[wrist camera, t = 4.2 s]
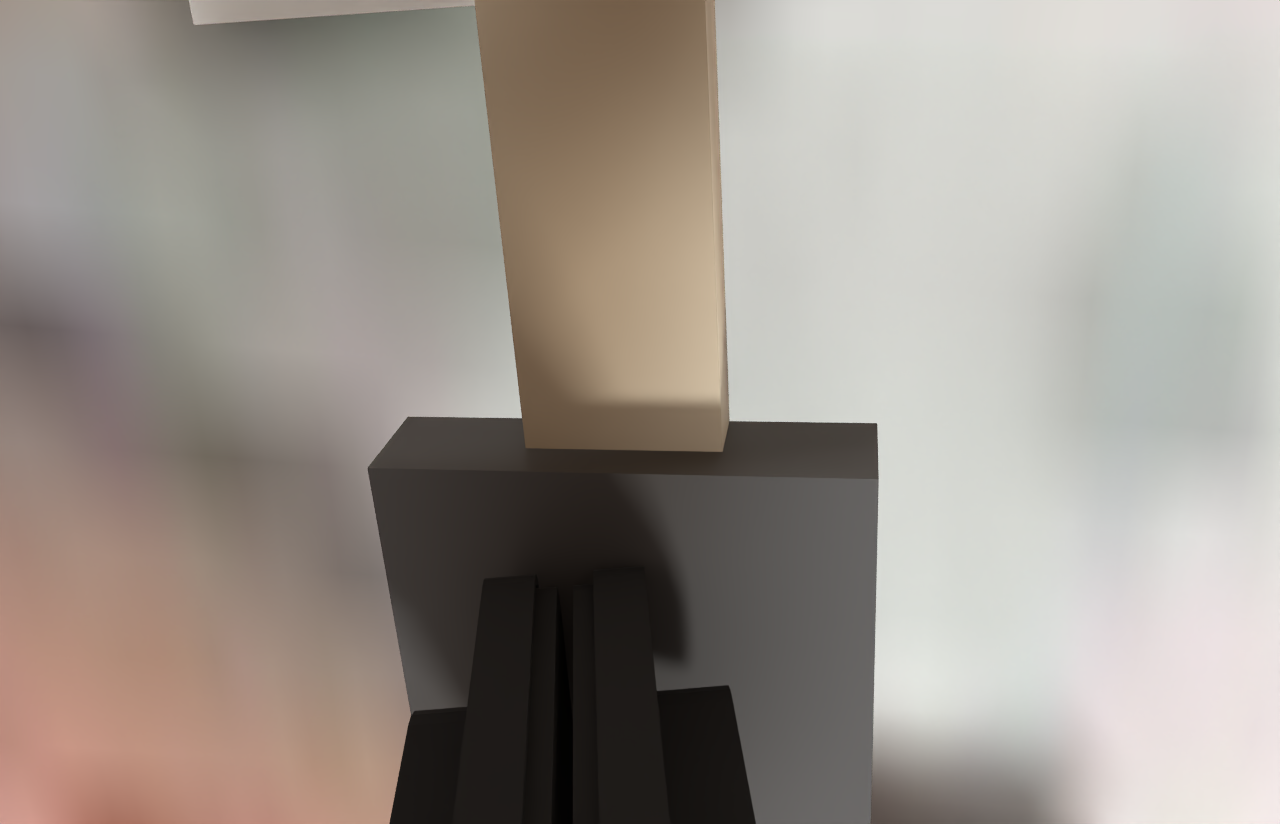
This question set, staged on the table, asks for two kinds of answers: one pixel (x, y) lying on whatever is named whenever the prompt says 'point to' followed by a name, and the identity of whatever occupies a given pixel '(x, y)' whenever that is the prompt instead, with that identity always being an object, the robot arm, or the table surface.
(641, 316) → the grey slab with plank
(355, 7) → the catapult stand
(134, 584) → the table surface
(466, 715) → the robot arm
